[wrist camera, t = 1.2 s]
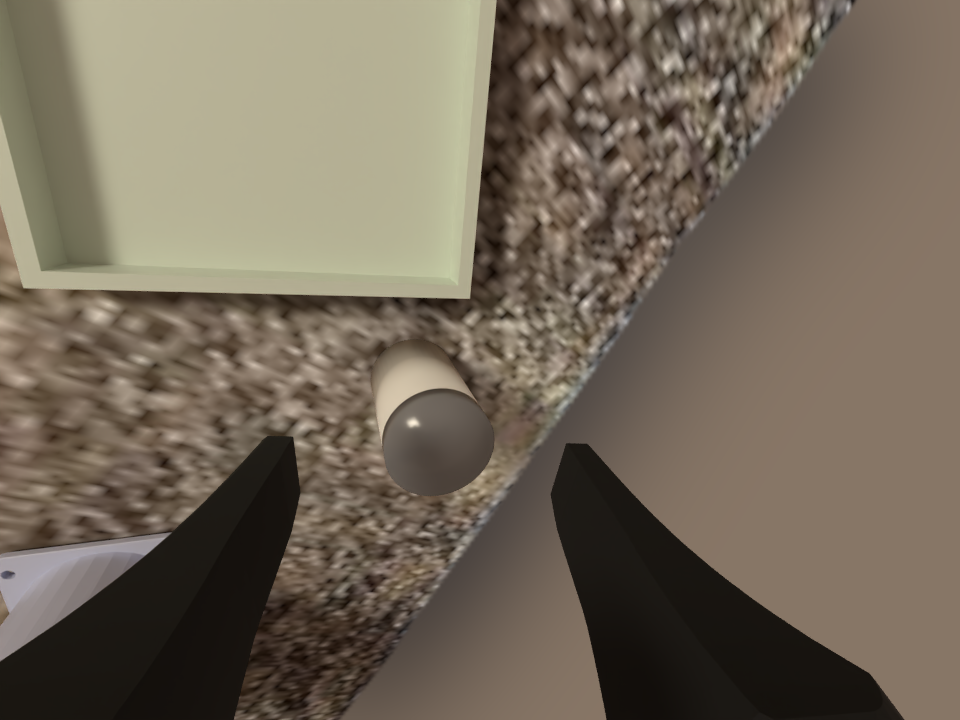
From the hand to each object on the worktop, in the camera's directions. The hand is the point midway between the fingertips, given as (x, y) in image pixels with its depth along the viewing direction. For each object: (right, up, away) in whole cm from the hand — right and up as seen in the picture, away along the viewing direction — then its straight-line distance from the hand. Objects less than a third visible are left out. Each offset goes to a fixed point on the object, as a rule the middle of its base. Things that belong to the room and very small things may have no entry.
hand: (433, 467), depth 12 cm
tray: (-7, +14, +5) cm, 16 cm away
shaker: (-2, +2, +12) cm, 12 cm away
